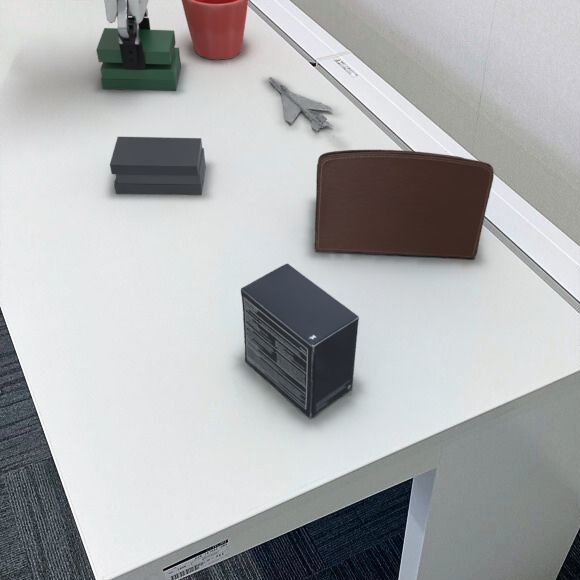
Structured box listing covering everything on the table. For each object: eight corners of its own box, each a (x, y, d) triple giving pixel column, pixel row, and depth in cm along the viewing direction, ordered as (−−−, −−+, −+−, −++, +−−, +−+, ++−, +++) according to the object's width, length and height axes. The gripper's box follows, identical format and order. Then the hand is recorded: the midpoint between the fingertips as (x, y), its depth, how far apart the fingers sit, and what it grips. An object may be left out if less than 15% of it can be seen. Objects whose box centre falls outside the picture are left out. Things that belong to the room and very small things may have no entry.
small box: (357, 387, 79) (364, 315, 72) (310, 421, 76) (312, 349, 68) (289, 332, 84) (288, 259, 77) (242, 361, 81) (237, 288, 73)
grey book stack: (115, 194, 99) (109, 164, 96) (123, 165, 104) (117, 136, 100) (201, 195, 100) (198, 166, 97) (205, 166, 104) (202, 137, 101)
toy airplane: (290, 75, 123) (290, 61, 121) (363, 139, 111) (364, 125, 109) (247, 86, 119) (247, 72, 118) (317, 153, 108) (318, 139, 106)
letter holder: (476, 260, 94) (498, 161, 84) (313, 253, 93) (316, 152, 83) (467, 210, 101) (487, 113, 91) (316, 203, 100) (319, 104, 90)
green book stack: (102, 89, 117) (98, 69, 114) (110, 64, 122) (107, 45, 119) (176, 90, 117) (173, 71, 115) (181, 66, 123) (179, 47, 120)
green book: (98, 62, 114) (96, 49, 112) (106, 40, 118) (104, 27, 117) (170, 64, 115) (169, 51, 113) (175, 42, 119) (174, 30, 118)
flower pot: (251, 34, 131) (248, -25, 124) (250, 65, 124) (247, 5, 117) (188, 33, 130) (182, -27, 123) (183, 64, 123) (176, 3, 116)
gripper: (102, -94, 109) (121, 29, 122) (78, -48, 98) (103, 83, 111) (155, -92, 110) (169, 30, 123) (138, -45, 98) (156, 85, 111)
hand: (138, 54), depth 117 cm, fingers closed on green book, 7 cm apart
